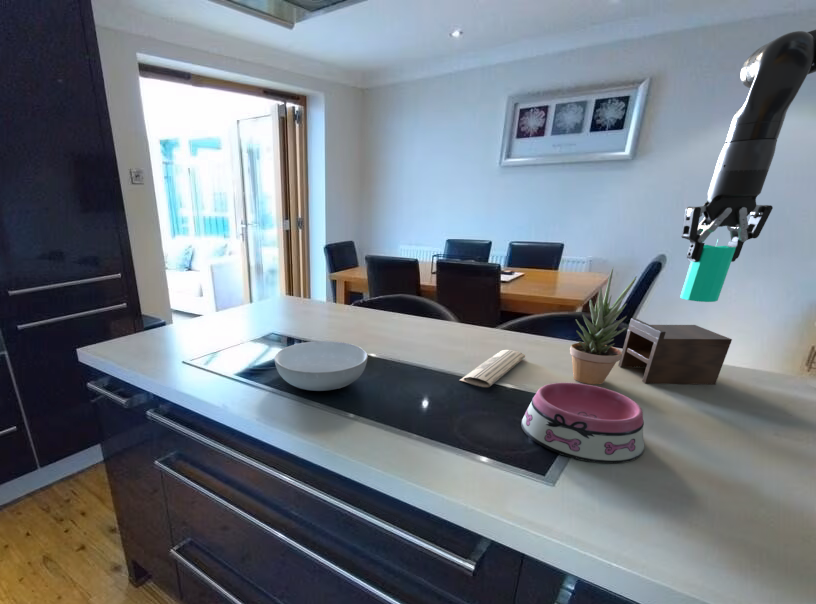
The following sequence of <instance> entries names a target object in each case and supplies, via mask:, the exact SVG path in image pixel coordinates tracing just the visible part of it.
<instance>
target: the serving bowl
mask: <svg viewBox="0 0 816 604" xmlns="http://www.w3.org/2000/svg"><path fill="white" fill-rule="evenodd" d="M367 363H368V353H367V351H366V350H364V348H362V347H360V346H359V345H355V344H352V343H349V342H344V341H343V342H342V341H336V340H313V341H306V342H305V341H304V342H301V343H295V344H292V345H289V346H286V347H284V348H282V349H280V350H279V351H277V353H276V354H275V355H274V364H275V368H276V371H277V372H278V374H279V375H280V377H281V378H282V379H283V380H284V381H285V382H286V383H287V384H289V385H291V386H293V387H295V388H298V389H301V390H304V391H305V390H306V391H314V392H324V391H325V392H327V391H333V390H337V389H338V390H339V389H341V388H344V387H347V386H349V385H351V384H353V383H355V382H356V381H357V380H358V379H359V378H360V377H362V374H363V373H364V372H365V369H366V367H367Z"/></svg>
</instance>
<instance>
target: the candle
mask: <svg viewBox="0 0 816 604" xmlns="http://www.w3.org/2000/svg"><path fill="white" fill-rule="evenodd" d="M718 242H719V238H717V240H716V243H715V245H710V244H704V247H703V250H702V253H701V256H700V260H699V261H698V262H690V264H689V267H688V269H687V274H686V277H685V279H684V282H683V283H684V284H683V287H682V290H681V293H680V295H679V297H680V299H682V300H686V301H691V302H699V303H700V302H701V303H715V302H718V300H719V298H720V295H721V293H722V289H723V287H724V284H725V281H726V277H727V275H728V272H729V269H730V266H731V263H732V262H731V261H732V258H733V255H734V252H735V249H736V247H728V245H718Z"/></svg>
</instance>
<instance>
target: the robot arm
mask: <svg viewBox="0 0 816 604" xmlns="http://www.w3.org/2000/svg"><path fill="white" fill-rule="evenodd" d="M813 73H816V29H813V30H810V31H805V30H797V31H792V32H791V31H790V32H788V33H785V34H783V35H781V36H779V37H776V38H775V39H773V40H771V41H769V42H768V43H765V44H764V45H761V46H760V47H759V48H757V49H756V50H755V51H753V53H751V54H750V56H748V58H747V59H746V60H745V61H744V63H743V65H742V66H741V68H740V73H739V78H740V82H741V84H742V85H743V86H745V87H746V88H748V89H749V92H748V95H747V97H746V99H745V101H744V103H743V104H742V106H740V107H739V108H738V109H737V110H736V112H735V113H734V115H733V117H732V119H731V122H730V125H729V128H728V132H727V134H726V138H725V141H724V144H723V146H722V149H721V151H720V153H719V155H718V157H717V160H716V164H715V168H714V170H713V174H712V178H711V181H710V183H709V187H708V190H707V193H706V194H707V199H706V202H705V203H704V204H703V205H700V206H687V207H686V208H685V209H684V216H683V223H682V229H681V238H682V239H685V240H688V241H689V242H690V243H689V247H688V250H687V253H686V259H687V262H690V263H691V262H698V261H699V260H700V256H701V253H702V250H703V247H704V245H706V244H705V241H706V240H707V239H708V237H709V236H710V235H711V234H712V233H714V232H715V231H716V230H717V229H718V228H722V227H726V229H727V231H729V236H730V239H731V241H728V243H727V246H728V247H736V249H735V252H734V255H733V258H732V261H731V263H734V262H736V260H737V259H738V258H739V257H740V255H741V252H742V249H743V246H744V244H745V242H747V241H748V240H751V239H757V238H758V237H759V236H760V234H761V232H762V231H763V229H764V227H765V225H766V222H767V220H768V219H769V217H770V214H771V213H772V211H773V208H774V207H773V205H770V204H757V197H758V196H760V194H761V193H762V190H763V187H764V185H765V182H766V180H767V176H768V174H769V171H770V168H771V165H772V161H773V159H774V156H775V153H776V149H777V148H776V147H777V142H778V139H779V136H780V134H781V130H782V128H783V125H784V122H785V119H786V115H787V112H788V110H789V108H790V106H791V104H792V103H793V102H794V100H795V99H796V97H797V95H798V93H799V91H800V90H801V87H802V86H803V84H804V82H805V80H806V78H807V77H808V75H811V74H813ZM749 215H750V217H749ZM702 216H704V217H703V219H702V220H701V221H700V218H701V217H702ZM748 217H749V219H748Z"/></svg>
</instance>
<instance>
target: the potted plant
mask: <svg viewBox="0 0 816 604" xmlns="http://www.w3.org/2000/svg"><path fill="white" fill-rule="evenodd" d="M613 273H614V267H611V269H610V273H609V278H608V280H607V284H606V289H605V294H604V297H603V290H602V287H600V288H599V290H598V299H597V300H598V301H597V302H595V306H594V304H593V301H592V299H591V298H590V299H589V311H590V317H591V321H592V322H591V321H590V320H589V319H588V318H587V316H586V315H585V313H582V319H583V321H584V323H585V325H586V327H587V329H588V331H587V329H586V328H585V326H584V325H582V324H581V323H580V322H579V321H578V319H577V318H576V319H575V322H576V324H577V325H578V327H579V328H580V330H581V331H582V333H581V332H579V330H578V329H576V333H577V335H578V336H579V337H580V339H582V341H580V340H578V342H575V343H572V344H571V345H570V348H569V355H571V363H572V374H573V379H574V380H575V381H577V382H579V383H581V384H586V385H601V384H604V382H605V381H606V379H607V378H608V376H609V374H610V372H611V371H612V370H613V368H614V366H615V365H616V363H617V362H619V361H620V358H621V355H622V350H621V349H619V348H616V347H614V345H615V344H616V342H615V343H614V340H615V338H614V337H616V336H618V335H620V334H621V333H622V332H624V331H625V330H627V327H623V328H622V329H620V330H617V329H618V327H619V325H620V324H621V323H623V321H624V320H625V319H626V318H627V315H625V316H623V317H622V318H620V319H619V320H617V321H616V319H618V317H620V314H621V313H622V312H623V310H624V309H625V307H626V306H627V305H628V304H627V303H625V304H624V305H622V303H623V300H624V299H625V297H626V295H627V294H628V292H630V290H631V288H632V286H633V285H634V284H635V282H636V280H637V276H638V275H636V276H634V278H633V279H632V280H631V282H629V284H628V285H627V286H626V288H625V289H624V290H623V291H622V292H621V294H620V295H619V297H617V299H616V300H615V302H614V303H612V305H611V300H612V296H613V295H612V294H611V295H610V290H611V283H612V279H613ZM609 296H610V297H609ZM621 305H622V306H621ZM611 342H613V343H611ZM610 343H611V344H610Z"/></svg>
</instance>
